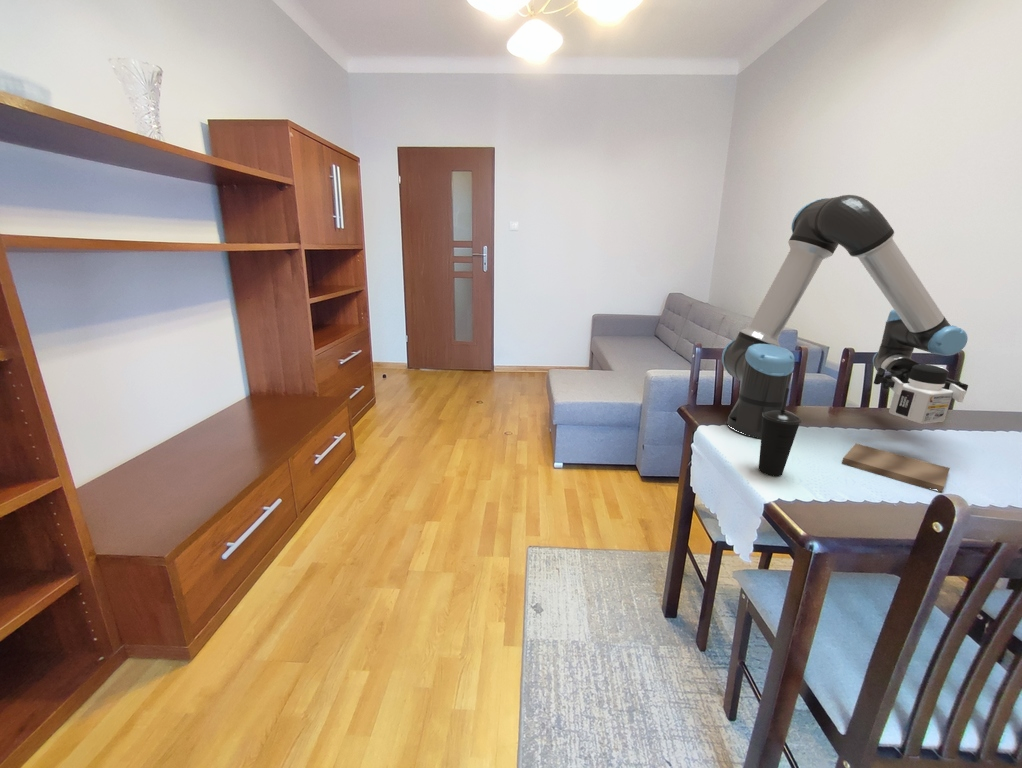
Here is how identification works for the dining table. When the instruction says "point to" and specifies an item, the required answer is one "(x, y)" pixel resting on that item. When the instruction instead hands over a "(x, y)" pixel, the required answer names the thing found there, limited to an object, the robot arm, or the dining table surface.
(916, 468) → the serving board
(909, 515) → the dining table surface
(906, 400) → the container
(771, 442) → the drinking cup
